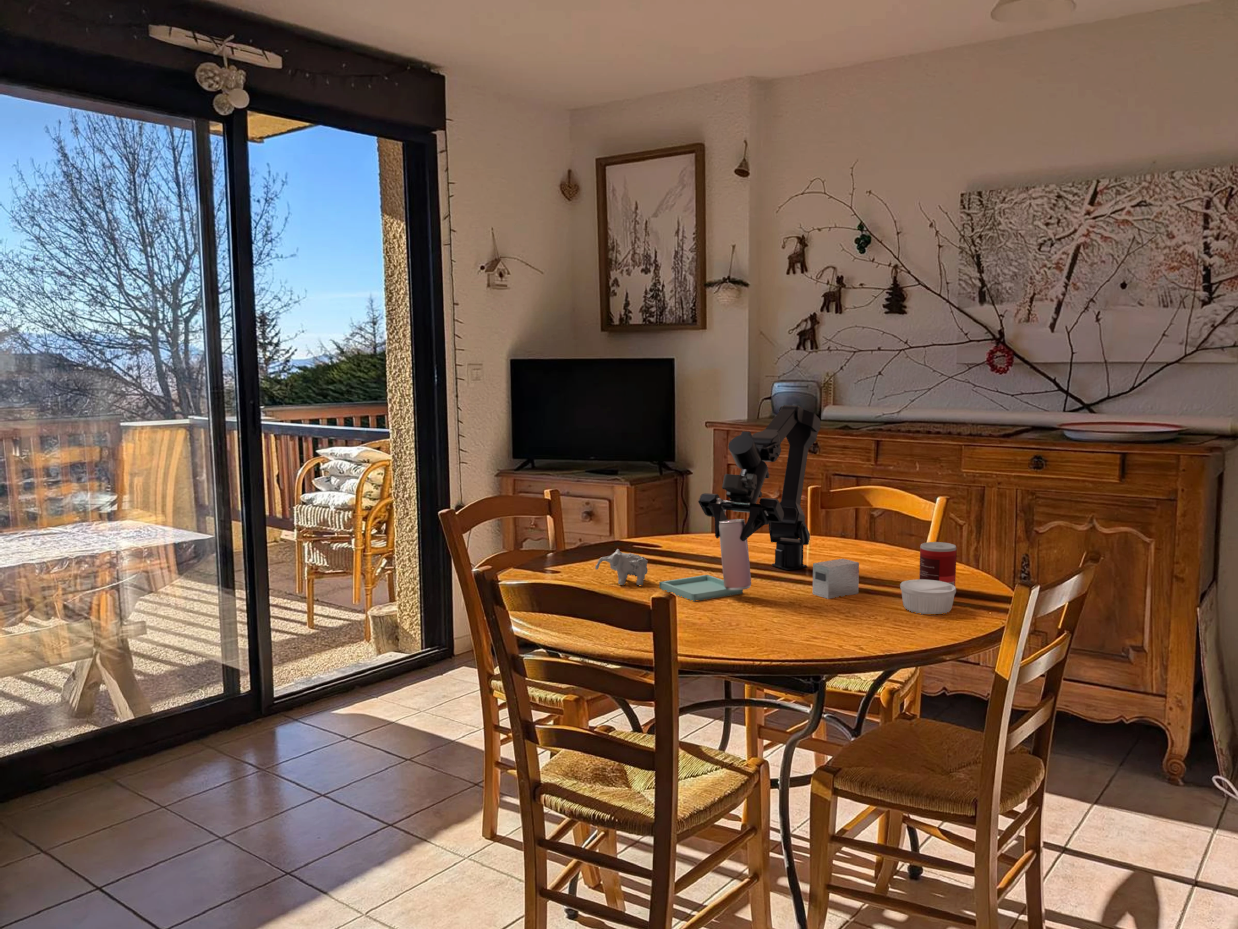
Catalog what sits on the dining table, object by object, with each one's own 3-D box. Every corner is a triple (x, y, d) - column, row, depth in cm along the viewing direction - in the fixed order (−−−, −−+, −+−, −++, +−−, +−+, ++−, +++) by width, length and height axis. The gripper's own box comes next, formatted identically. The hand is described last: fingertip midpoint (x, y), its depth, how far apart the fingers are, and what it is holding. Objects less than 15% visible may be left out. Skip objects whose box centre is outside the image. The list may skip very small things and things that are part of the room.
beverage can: (725, 587, 221) (719, 520, 221) (752, 585, 220) (746, 518, 220) (723, 591, 215) (717, 522, 215) (750, 589, 214) (744, 520, 214)
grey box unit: (843, 588, 225) (844, 558, 225) (859, 593, 221) (860, 562, 220) (811, 594, 221) (812, 563, 220) (827, 599, 216) (828, 567, 215)
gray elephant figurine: (651, 588, 229) (653, 555, 228) (601, 588, 226) (602, 555, 225) (641, 579, 238) (643, 548, 237) (592, 579, 235) (594, 547, 234)
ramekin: (947, 620, 200) (948, 594, 199) (892, 612, 206) (893, 587, 205) (961, 607, 209) (961, 583, 208) (908, 600, 215) (908, 576, 214)
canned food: (955, 591, 223) (956, 542, 221) (954, 599, 215) (956, 549, 214) (919, 588, 225) (921, 540, 224) (918, 596, 218) (919, 547, 216)
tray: (707, 581, 233) (707, 574, 233) (742, 593, 222) (742, 586, 221) (659, 588, 226) (659, 581, 226) (693, 601, 215) (693, 594, 215)
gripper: (701, 457, 223) (679, 513, 215) (779, 462, 214) (758, 521, 206) (717, 487, 231) (695, 542, 223) (792, 493, 221) (773, 551, 213)
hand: (729, 538), depth 216 cm, fingers closed on beverage can, 6 cm apart
